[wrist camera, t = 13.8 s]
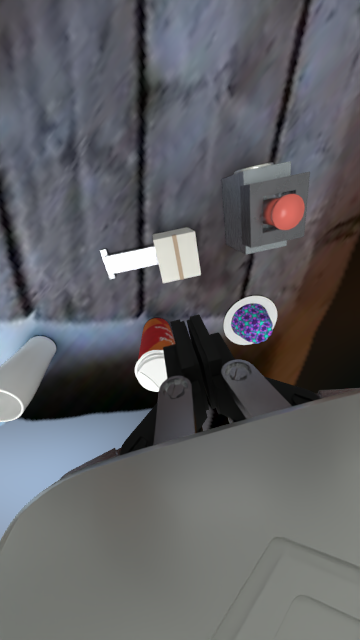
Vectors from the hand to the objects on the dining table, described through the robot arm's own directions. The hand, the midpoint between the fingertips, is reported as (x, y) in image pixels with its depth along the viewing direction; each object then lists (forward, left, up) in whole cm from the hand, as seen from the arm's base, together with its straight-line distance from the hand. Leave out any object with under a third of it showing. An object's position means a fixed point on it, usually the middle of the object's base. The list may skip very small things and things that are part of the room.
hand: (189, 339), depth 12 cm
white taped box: (0, +2, -29) cm, 29 cm away
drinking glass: (+13, -28, -29) cm, 42 cm away
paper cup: (+15, -5, -29) cm, 33 cm away
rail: (0, -2, -29) cm, 29 cm away
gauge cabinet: (-4, +14, -29) cm, 33 cm away
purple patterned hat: (+18, +15, -29) cm, 38 cm away
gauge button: (-4, +14, -19) cm, 24 cm away
